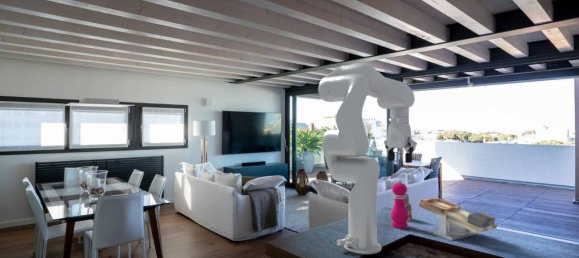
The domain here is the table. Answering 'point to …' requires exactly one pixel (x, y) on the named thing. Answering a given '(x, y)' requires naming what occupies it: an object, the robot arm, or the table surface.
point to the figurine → (408, 207)
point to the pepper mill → (399, 206)
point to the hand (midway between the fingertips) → (399, 161)
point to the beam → (459, 215)
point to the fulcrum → (452, 229)
